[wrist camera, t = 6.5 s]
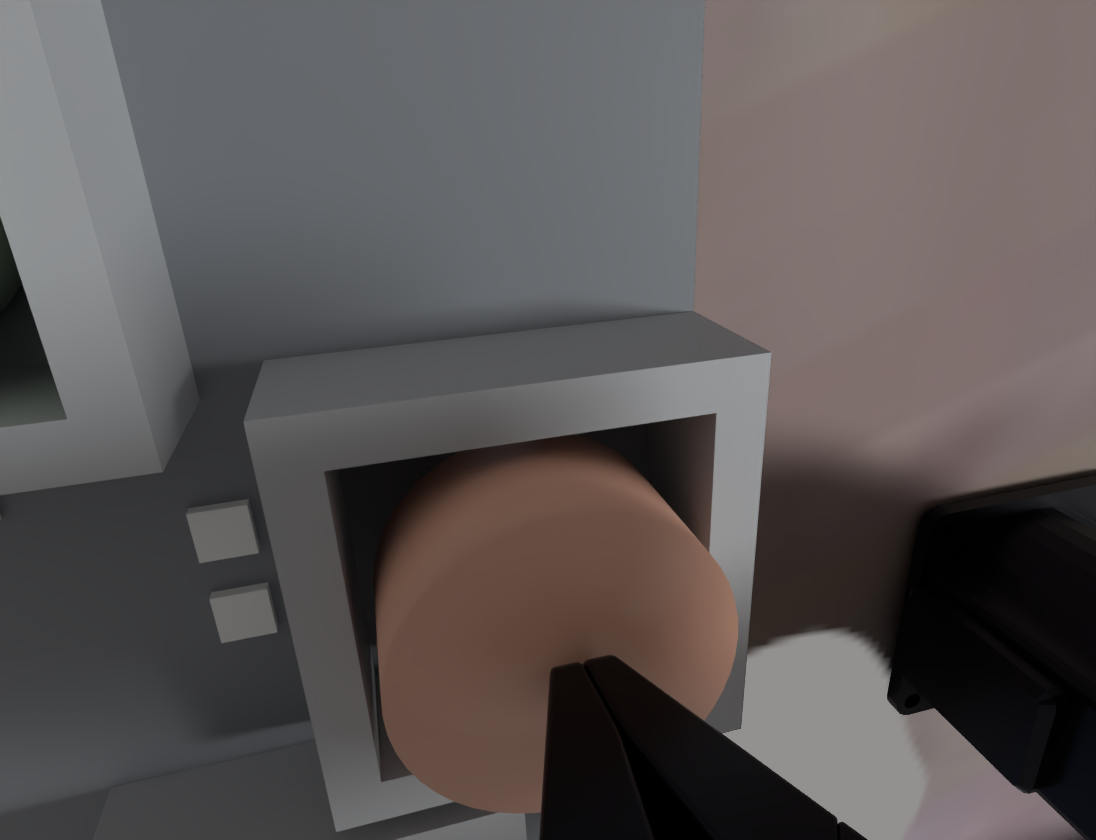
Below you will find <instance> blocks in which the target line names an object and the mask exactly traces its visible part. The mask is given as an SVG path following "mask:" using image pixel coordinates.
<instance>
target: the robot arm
mask: <svg viewBox="0 0 1096 840" xmlns="http://www.w3.org/2000/svg"><path fill="white" fill-rule="evenodd" d="M887 700H888V701H889V703H890V704H891V705H892V706H893V707H894V708H895V709H896V710H897V711H898V712H899V713H900V714H903V715H910V714H913V713H917V712H921V711H925V710H928V709H932V708H935V709H936V710H937V711H938V712H939V713H940V714H941V715H942V716H943V717H944V718H945V719H946V720H947V721H948V722H949V723H950V724H951V725H952V726H953V727H954V728H955V729H956V730H957V731H958V732H959V733H960V734H961V735H962V736H964V737H965V738H966V739H967V740H968V741H969V742H970V743H971V744H972V745H973V746H974V747H975V748H976V749H977V750H978V751H979V752H980V753H981V754H982V755H983V756H984V757H985V758H986V759H987V760H988V761H989V762H990V763H991V764H992V765H993V766H994V767H995V768H996V769H997V770H998V771H999V772H1000V773H1001V774H1002V775H1003V776H1004V777H1005V778H1006V779H1007V780H1008V781H1009V782H1010V783H1011V784H1012V785H1014V786H1015V787H1016V788H1018V789H1019V790H1020V791H1022V792H1023V793H1029V794H1030V793H1033V792H1037V793H1038V794H1039V795H1040V796H1041V797H1042V798H1043V799H1044V800H1045V801H1046V802H1047V803H1048V804H1049V805H1050V806H1051V807H1052V808H1053V809H1054V810H1055V811H1056V812H1058V813H1059V814H1060V815H1061V816H1062V817H1063V818H1064V819H1065V820H1066V821H1067V822H1068V823H1069V824H1070V825H1071V826H1072V827H1073V828H1074V829H1075V830H1076V831H1077V832H1078V833H1079V834H1080V835H1081V836H1083V837H1084V838H1085V839H1086V840H1096V475H1095V476H1090V477H1084V478H1079V479H1074V480H1069V481H1064V482H1059V483H1053V484H1048V485H1043V486H1038V487H1033V488H1028V489H1023V490H1017V491H1012V492H1007V493H1002V494H997V495H992V496H986V497H981V498H976V499H971V500H966V501H961V502H956V503H950V504H945V505H940V506H936V507H934V508H931V509H930V510H929V511H927V512H926V513H925V514H924V515H923V517H922V518H921V519H920V522H919V524H918V528H917V533H916V539H915V544H914V550H913V555H912V561H911V566H910V572H909V577H908V583H907V588H906V594H905V599H904V605H903V610H902V616H901V621H900V627H899V632H898V638H897V643H896V649H895V655H894V660H893V666H892V671H891V677H890V682H889V688H888V693H887ZM539 840H867V839H866V838H864V837H863V836H862V835H860V834H859V833H858V832H856V831H855V830H854V829H852V828H851V827H849V826H848V825H847V824H845V823H844V822H840V823H837V818H836V817H835V816H834V815H833V814H831V813H830V812H828V811H827V810H826V809H824V808H823V807H822V806H820V805H819V804H817V803H816V802H815V801H813V800H812V799H811V798H809V797H808V796H807V795H805V794H804V793H802V792H801V791H800V790H798V789H797V788H796V787H794V786H793V785H792V784H790V783H789V782H787V781H786V780H785V779H783V778H782V777H780V776H779V775H778V774H776V773H775V772H774V771H772V770H771V769H770V768H768V767H767V766H765V765H764V764H763V763H761V762H760V761H759V760H757V759H756V758H755V757H753V756H752V755H750V754H749V753H748V752H746V751H745V750H743V749H742V748H741V747H740V746H738V745H737V744H735V743H734V742H733V741H731V740H730V739H728V738H727V737H726V736H724V735H723V734H722V733H720V732H719V731H718V730H716V729H715V728H714V727H712V726H711V725H709V724H708V723H707V722H705V721H704V720H703V719H701V718H700V717H698V716H697V715H696V714H694V713H693V712H692V711H690V710H689V709H688V708H686V707H685V706H683V705H682V704H681V703H679V702H678V701H677V700H675V699H674V698H672V697H671V696H670V695H668V694H667V693H666V692H664V691H663V690H662V689H660V688H659V687H657V686H656V685H655V684H653V683H652V682H651V681H649V680H648V679H647V678H645V677H644V676H642V675H641V674H640V673H638V672H637V671H636V670H634V669H633V668H631V667H630V666H629V665H627V664H626V663H625V662H623V661H622V660H621V659H619V658H618V657H616V656H614V655H606V656H601V657H597V658H592V659H588V660H586V661H585V662H584V663H583V665H582V664H581V663H579V662H574V663H569V664H565V665H560V666H556V667H553V668H552V669H551V671H550V677H549V693H548V708H547V724H546V739H545V755H544V770H543V786H542V802H541V817H540V833H539Z"/></svg>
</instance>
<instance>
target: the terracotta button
mask: <svg viewBox="0 0 1096 840" xmlns="http://www.w3.org/2000/svg"><path fill="white" fill-rule="evenodd" d="M373 587H374V602H375V617H376V632H377V647H378V662H379V677H380V692H381V705H382V717H383V721H384V724H385V728H386V732H387V735H388V738H389V740H390V742H391V744H392V746H393V748H394V750H395V752H396V754H397V755H398V757H399V758H400V760H401V761H402V762H403V764H404V765H405V767H406V768H407V769H408V770H409V771H410V772H411V773H412V774H413V775H414V776H415V777H416V778H417V779H418V780H419V781H420V782H422V783H423V784H424V785H426V786H427V787H429V788H430V789H431V790H433V791H434V792H436V793H438V794H440V795H442V796H444V797H446V798H448V799H450V800H452V801H454V802H457V803H460V804H463V805H465V806H468V807H471V808H476V809H481V810H486V811H490V812H500V813H511V814H516V813H539V812H541V802H542V786H543V770H544V755H545V739H546V724H547V708H548V693H549V677H550V671H551V669H552V668H553V667H556V666H560V665H565V664H569V663H574V662H579V663H581V664H582V665H583V663H584V662H585V661H586V660H588V659H592V658H597V657H601V656H606V655H614V656H616V657H618V658H619V659H621V660H622V661H623V662H625V663H626V664H627V665H629V666H630V667H631V668H633V669H634V670H636V671H637V672H638V673H640V674H641V675H642V676H644V677H645V678H647V679H648V680H649V681H651V682H652V683H653V684H655V685H656V686H657V687H659V688H660V689H662V690H663V691H664V692H666V693H667V694H668V695H670V696H671V697H672V698H674V699H675V700H677V701H678V702H679V703H681V704H682V705H683V706H685V707H686V708H688V709H689V710H690V711H692V712H693V713H694V714H696V715H697V716H698V717H700V718H701V719H703V720H705V719H706V717H707V716H708V715H709V713H710V712H711V710H712V709H713V707H714V706H715V704H716V702H717V700H718V699H719V697H720V695H721V693H722V691H723V689H724V687H725V684H726V682H727V680H728V677H729V675H730V672H731V669H732V665H733V662H734V658H735V654H736V647H737V641H738V615H737V609H736V602H735V599H734V595H733V592H732V589H731V586H730V584H729V582H728V580H727V578H726V576H725V574H724V572H723V570H722V569H721V567H720V566H719V564H718V563H717V562H716V561H715V559H714V558H713V557H712V555H711V554H710V553H709V552H708V551H707V549H706V548H705V547H704V546H703V545H702V544H701V542H700V541H699V540H698V539H697V538H696V537H695V535H694V534H693V533H692V532H691V531H690V530H689V528H688V527H687V526H686V525H685V524H684V523H683V521H682V520H681V519H680V518H679V517H678V516H677V514H676V513H675V512H674V511H673V510H672V509H671V507H670V506H669V505H668V504H667V503H666V502H665V500H664V499H663V498H662V497H661V496H660V495H659V493H658V492H657V491H656V490H655V489H654V488H653V486H652V485H651V484H650V483H649V482H648V481H647V479H646V478H645V477H644V476H643V475H642V474H641V473H640V471H639V470H638V469H637V468H636V467H635V466H634V465H633V464H631V463H630V462H629V461H628V460H627V459H626V458H625V457H623V456H622V455H620V454H619V453H617V452H616V451H615V450H613V449H612V448H610V447H608V446H606V445H603V444H601V443H599V442H597V441H595V440H592V439H589V438H586V437H583V436H579V435H576V434H572V435H565V436H558V437H552V438H545V439H538V440H531V441H525V442H518V443H511V444H505V445H498V446H491V447H484V448H478V449H471V450H464V451H459V452H457V453H456V454H454V455H452V456H451V457H449V458H448V459H446V460H444V461H443V462H441V463H440V464H438V465H437V466H436V467H434V468H433V469H432V470H431V471H429V472H428V473H427V474H426V475H424V476H423V477H422V478H421V479H420V480H419V481H418V482H417V483H416V484H415V485H414V486H413V487H412V488H411V489H410V490H409V491H408V492H407V494H406V495H405V496H404V498H403V499H402V500H401V502H400V503H399V504H398V506H397V507H396V508H395V510H394V512H393V514H392V515H391V517H390V519H389V521H388V523H387V524H386V526H385V529H384V531H383V534H382V536H381V539H380V542H379V544H378V548H377V553H376V557H375V561H374V573H373Z"/></svg>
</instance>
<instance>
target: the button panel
mask: <svg viewBox="0 0 1096 840" xmlns="http://www.w3.org/2000/svg"><path fill="white" fill-rule="evenodd" d="M704 10H705V0H0V217H1V220H2V223H3V226H4V229H5V232H6V235H7V238H8V241H9V244H10V247H11V250H12V253H13V256H14V259H15V262H16V265H17V269H18V272H19V275H20V278H21V281H22V284H21V286H20V287H19V289H18V290H17V292H16V294H15V295H14V297H13V299H12V300H11V301H10V303H9V304H8V305H7V306H6V307H5V308H4V310H3V311H2V312H1V313H0V840H539V833H540V817H541V812H539V813H516V814H511V813H500V812H490V811H486V810H481V809H476V808H471V807H468V806H465V805H463V804H460V803H457V802H454V801H452V800H450V799H448V798H446V797H444V796H442V795H440V794H438V793H436V792H434V791H433V790H431V789H430V788H429V787H427V786H426V785H424V784H423V783H422V782H420V781H419V780H418V779H417V778H416V777H415V776H414V775H413V774H412V773H411V772H410V771H409V770H408V769H407V768H406V767H405V765H404V764H403V762H402V761H401V760H400V758H399V757H398V755H397V754H396V752H395V750H394V748H393V746H392V744H391V742H390V740H389V738H388V735H387V732H386V728H385V724H384V721H383V717H382V705H381V692H380V677H379V662H378V647H377V632H376V617H375V602H374V587H373V573H374V561H375V557H376V553H377V548H378V544H379V542H380V539H381V536H382V534H383V531H384V529H385V526H386V524H387V523H388V521H389V519H390V517H391V515H392V514H393V512H394V510H395V508H396V507H397V506H398V504H399V503H400V502H401V500H402V499H403V498H404V496H405V495H406V494H407V492H408V491H409V490H410V489H411V488H412V487H413V486H414V485H415V484H416V483H417V482H418V481H419V480H420V479H421V478H422V477H423V476H424V475H426V474H427V473H428V472H429V471H431V470H432V469H433V468H434V467H436V466H437V465H438V464H440V463H441V462H443V461H444V460H446V459H448V458H449V457H451V456H452V455H454V454H456V453H457V452H459V451H464V450H471V449H478V448H484V447H491V446H498V445H505V444H511V443H518V442H525V441H531V440H538V439H545V438H552V437H558V436H565V435H572V434H576V435H579V436H583V437H586V438H589V439H592V440H595V441H597V442H599V443H601V444H603V445H606V446H608V447H610V448H612V449H613V450H615V451H616V452H617V453H619V454H620V455H622V456H623V457H625V458H626V459H627V460H628V461H629V462H630V463H631V464H633V465H634V466H635V467H636V468H637V469H638V470H639V471H640V473H641V474H642V475H643V476H644V477H645V478H646V479H647V481H648V482H649V483H650V484H651V485H652V486H653V488H654V489H655V490H656V491H657V492H658V493H659V495H660V496H661V497H662V498H663V499H664V500H665V502H666V503H667V504H668V505H669V506H670V507H671V509H672V510H673V511H674V512H675V513H676V514H677V516H678V517H679V518H680V519H681V520H682V521H683V523H684V524H685V525H686V526H687V527H688V528H689V530H690V531H691V532H692V533H693V534H694V535H695V537H696V538H697V539H698V540H699V541H700V542H701V544H702V545H703V546H704V547H705V548H706V549H707V551H708V552H709V553H710V554H711V555H712V557H713V558H714V559H715V561H716V562H717V563H718V564H719V566H720V567H721V569H722V570H723V572H724V574H725V576H726V578H727V580H728V582H729V584H730V586H731V589H732V592H733V595H734V599H735V602H736V609H737V615H738V641H737V647H736V654H735V658H734V662H733V665H732V669H731V672H730V675H729V677H728V680H727V682H726V684H725V687H724V689H723V691H722V693H721V695H720V697H719V699H718V700H717V702H716V704H715V706H714V707H713V709H712V710H711V712H710V713H709V715H708V716H707V717H706V719H705V720H704V721H705V722H707V723H708V724H709V725H711V726H712V727H714V728H715V729H716V730H718V731H719V732H720V733H725V732H729V731H733V730H737V729H741V723H742V710H743V697H744V684H745V673H746V661H747V648H748V636H749V624H750V611H751V599H752V587H753V574H754V562H755V549H756V537H757V525H758V512H759V500H760V488H761V475H762V463H763V451H764V438H765V426H766V414H767V401H768V389H769V376H770V364H771V352H770V351H768V350H766V349H764V348H762V347H760V346H758V345H756V344H754V343H753V342H751V341H749V340H747V339H745V338H743V337H741V336H739V335H737V334H736V333H734V332H732V331H730V330H728V329H726V328H724V327H722V326H720V325H718V324H717V323H715V322H713V321H711V320H709V319H707V318H705V317H703V316H701V315H700V314H698V313H696V312H694V287H695V260H696V232H697V204H698V177H699V149H700V121H701V93H702V66H703V38H704Z"/></svg>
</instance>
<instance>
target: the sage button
mask: <svg viewBox="0 0 1096 840" xmlns="http://www.w3.org/2000/svg"><path fill="white" fill-rule="evenodd" d="M21 284H22V281H21V278H20V275H19V272H18V269H17V265H16V262H15V259H14V256H13V253H12V250H11V247H10V244H9V241H8V238H7V235H6V232H5V229H4V226H3V223H2V220H1V217H0V313H1V312H2V311H3V310H4V308H5V307H6V306H7V305H8V304H9V303H10V301H11V300H12V299H13V297H14V295H15V294H16V292H17V290H18V289H19V287H20V286H21Z"/></svg>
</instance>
